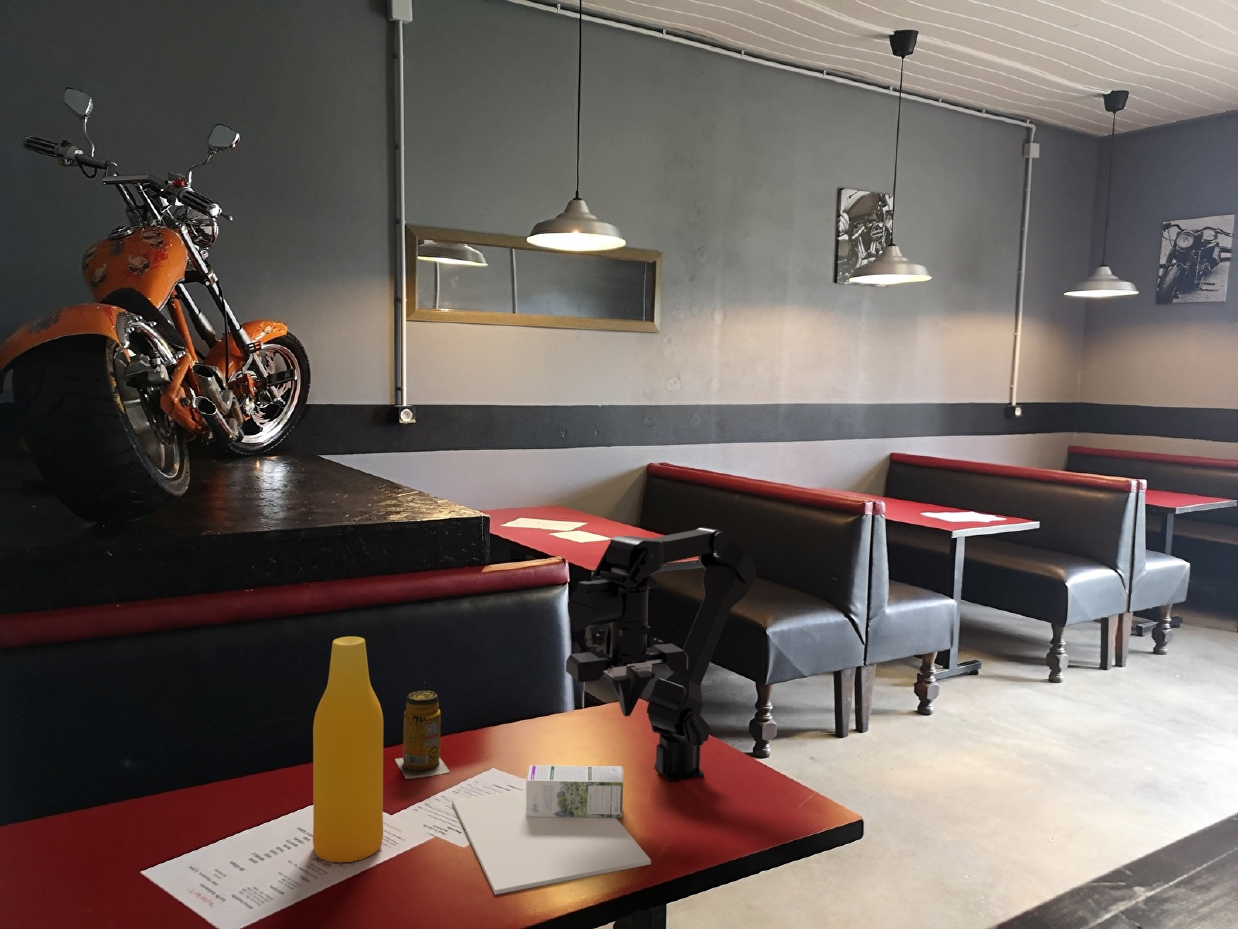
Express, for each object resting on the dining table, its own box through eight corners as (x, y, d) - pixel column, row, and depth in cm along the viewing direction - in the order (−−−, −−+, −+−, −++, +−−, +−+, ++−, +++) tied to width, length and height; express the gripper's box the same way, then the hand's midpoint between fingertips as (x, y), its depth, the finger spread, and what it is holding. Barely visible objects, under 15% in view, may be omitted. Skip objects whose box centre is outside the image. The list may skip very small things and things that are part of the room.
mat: (584, 783, 144) (584, 780, 144) (650, 864, 120) (650, 860, 120) (452, 803, 135) (452, 800, 135) (494, 894, 112) (494, 890, 111)
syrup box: (622, 765, 136) (528, 763, 136) (623, 782, 130) (524, 781, 130) (622, 800, 137) (527, 799, 136) (622, 819, 131) (524, 818, 131)
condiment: (437, 754, 154) (437, 686, 153) (450, 773, 146) (450, 702, 145) (394, 760, 151) (395, 691, 150) (405, 780, 143) (406, 708, 142)
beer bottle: (318, 871, 116) (318, 654, 113) (308, 838, 124) (307, 635, 122) (390, 856, 120) (391, 646, 118) (375, 825, 128) (376, 628, 126)
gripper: (659, 601, 149) (656, 692, 150) (554, 610, 141) (552, 705, 143) (691, 617, 139) (688, 714, 140) (580, 628, 131) (578, 730, 133)
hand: (626, 715), depth 139 cm, fingers closed
